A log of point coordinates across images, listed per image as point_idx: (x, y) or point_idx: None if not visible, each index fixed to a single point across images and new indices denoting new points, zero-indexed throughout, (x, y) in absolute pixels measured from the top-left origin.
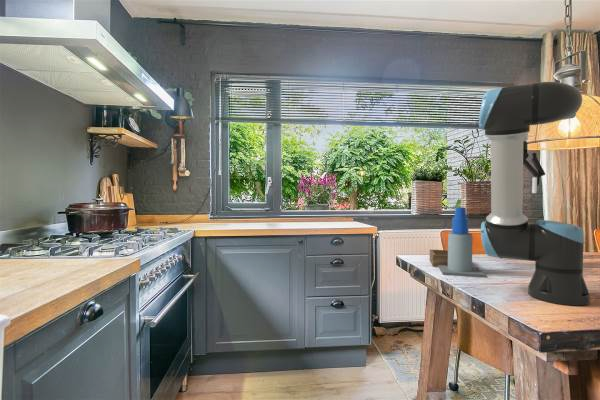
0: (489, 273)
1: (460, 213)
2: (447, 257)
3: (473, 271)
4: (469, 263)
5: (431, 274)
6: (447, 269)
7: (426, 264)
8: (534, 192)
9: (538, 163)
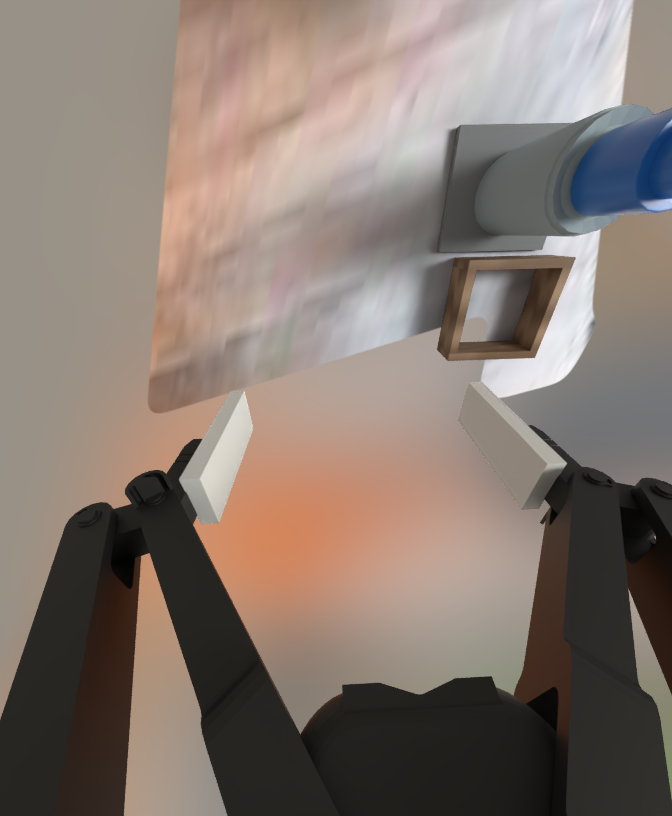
0: (422, 206)
1: None
2: (530, 258)
3: (478, 174)
4: (509, 155)
5: None
6: None
7: None
8: (243, 393)
9: (28, 707)
